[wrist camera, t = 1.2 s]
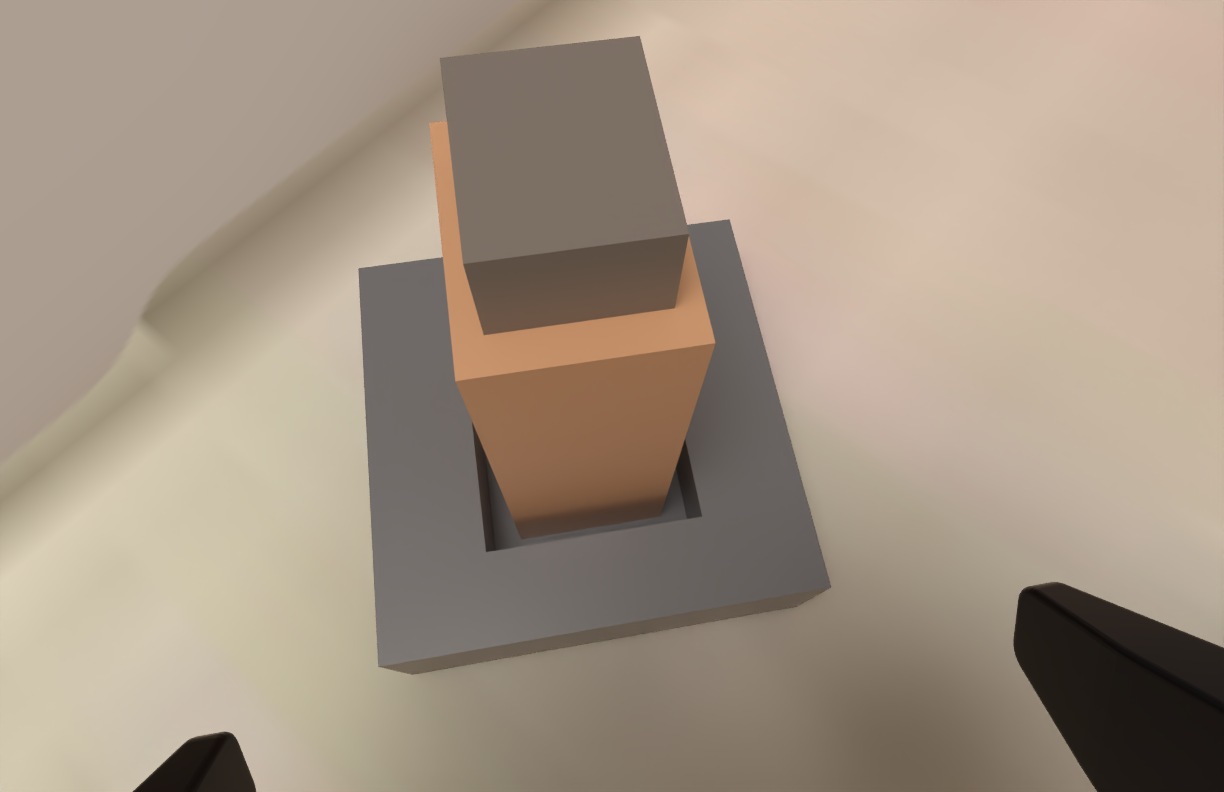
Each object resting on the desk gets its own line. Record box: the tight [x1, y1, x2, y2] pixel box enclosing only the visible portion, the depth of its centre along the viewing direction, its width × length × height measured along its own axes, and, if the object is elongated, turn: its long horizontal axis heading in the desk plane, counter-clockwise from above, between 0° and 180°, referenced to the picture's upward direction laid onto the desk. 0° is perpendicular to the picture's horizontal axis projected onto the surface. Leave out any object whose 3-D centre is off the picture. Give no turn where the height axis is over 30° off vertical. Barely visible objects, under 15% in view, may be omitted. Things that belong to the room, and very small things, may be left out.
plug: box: [429, 36, 715, 539], centre depth 17 cm, size 5×4×13 cm
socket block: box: [359, 220, 831, 674], centre depth 22 cm, size 11×11×4 cm
